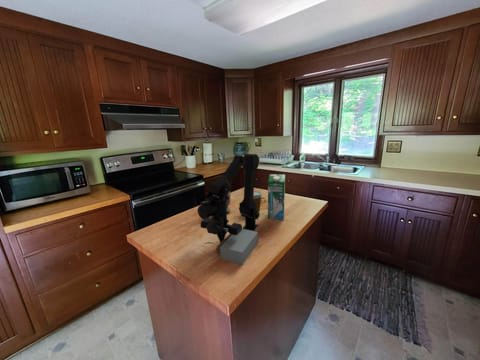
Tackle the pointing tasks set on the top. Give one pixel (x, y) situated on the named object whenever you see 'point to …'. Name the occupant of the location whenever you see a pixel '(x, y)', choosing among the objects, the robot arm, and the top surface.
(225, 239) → the walnut tray
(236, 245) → the grey shelf
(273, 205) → the milk carton
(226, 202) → the mortar and pestle
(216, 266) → the top surface
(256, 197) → the disposable coffee cup
